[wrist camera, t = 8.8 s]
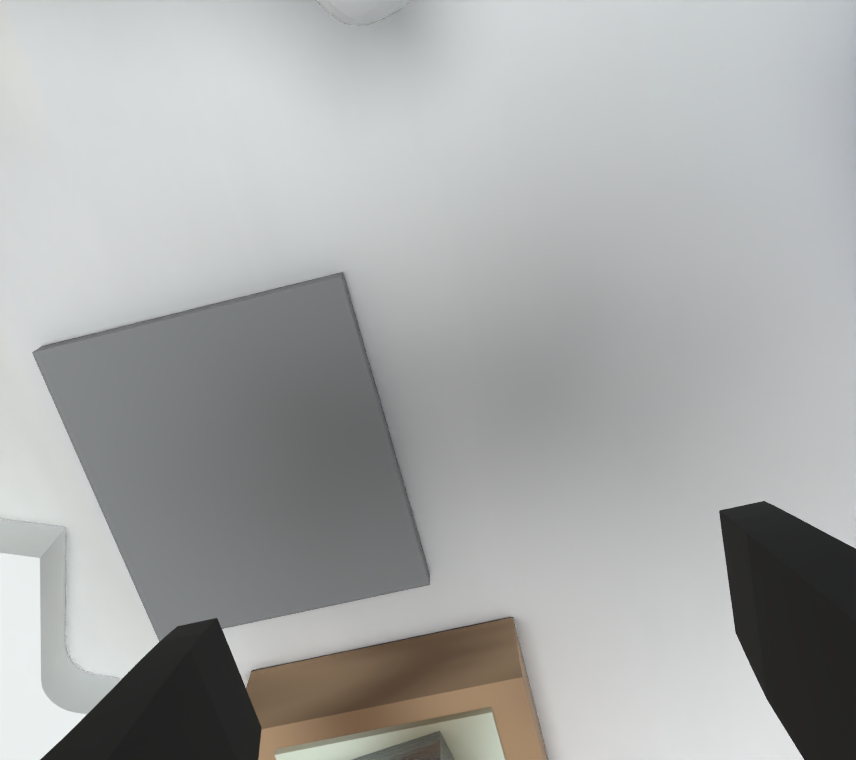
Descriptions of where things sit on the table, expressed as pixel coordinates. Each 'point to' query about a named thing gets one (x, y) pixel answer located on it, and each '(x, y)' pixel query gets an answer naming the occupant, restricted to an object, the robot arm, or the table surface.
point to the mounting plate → (38, 645)
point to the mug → (361, 10)
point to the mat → (241, 457)
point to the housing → (414, 750)
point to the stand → (403, 699)
